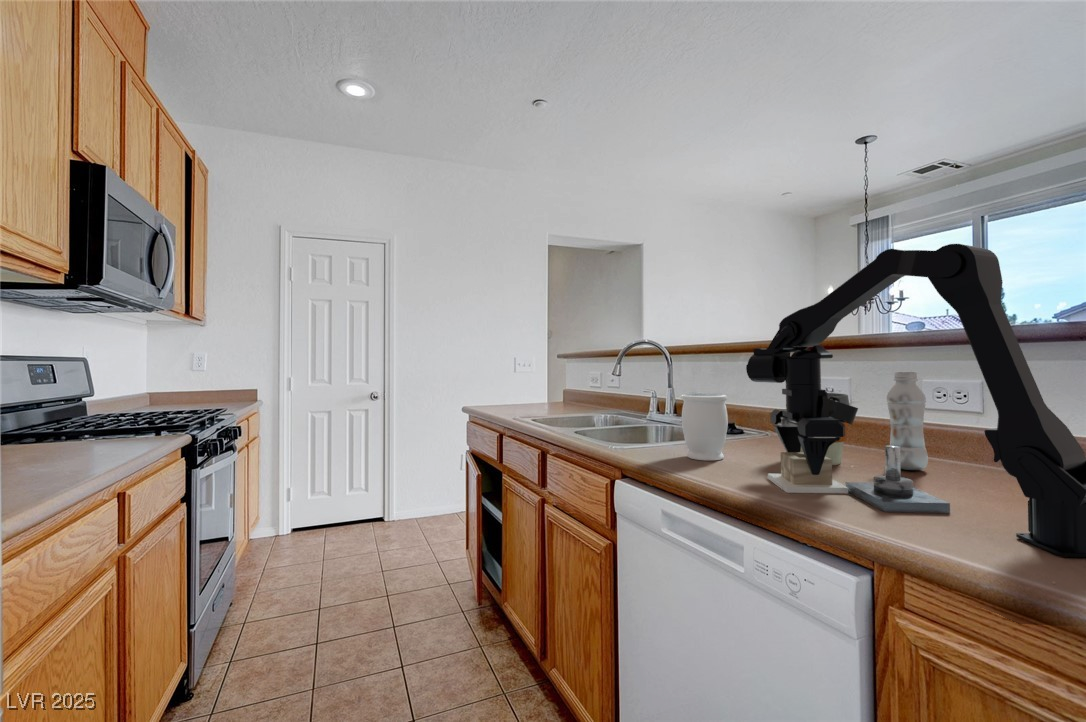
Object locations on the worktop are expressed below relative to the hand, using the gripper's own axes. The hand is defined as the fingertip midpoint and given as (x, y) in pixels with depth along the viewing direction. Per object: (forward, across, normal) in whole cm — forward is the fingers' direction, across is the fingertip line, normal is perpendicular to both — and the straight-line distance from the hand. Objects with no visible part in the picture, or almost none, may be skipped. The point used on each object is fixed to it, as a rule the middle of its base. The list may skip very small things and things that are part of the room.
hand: (804, 468), depth 89 cm
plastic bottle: (+3, +14, -25) cm, 29 cm away
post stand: (+3, -9, -10) cm, 14 cm away
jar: (+3, +25, +13) cm, 28 cm away
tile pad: (+3, 0, 0) cm, 3 cm away
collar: (+2, 0, 0) cm, 2 cm away
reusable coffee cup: (+3, +22, -11) cm, 25 cm away
